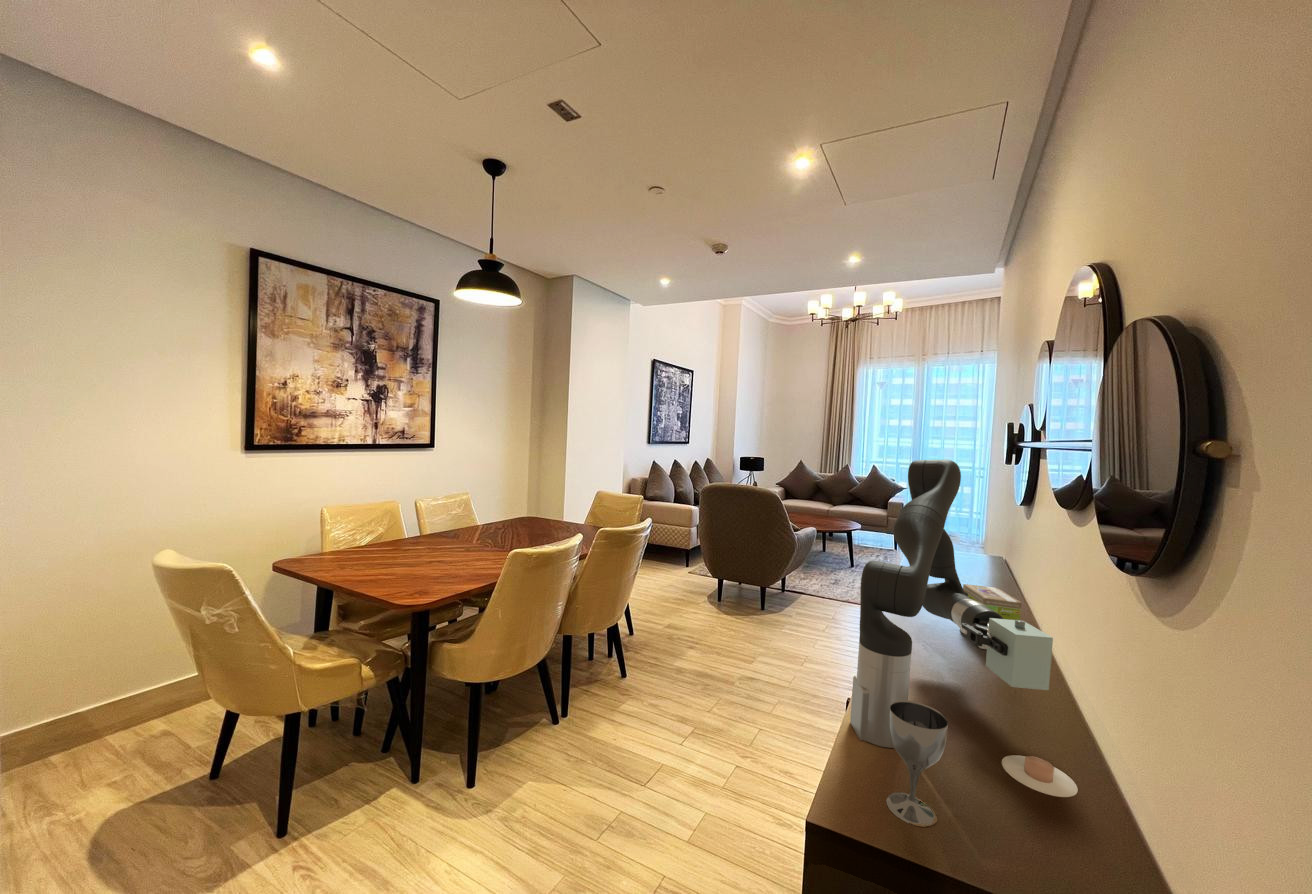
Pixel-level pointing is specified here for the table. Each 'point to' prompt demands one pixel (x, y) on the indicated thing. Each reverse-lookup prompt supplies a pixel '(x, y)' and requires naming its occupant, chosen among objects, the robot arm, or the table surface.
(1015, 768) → the plate
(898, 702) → the wine glass
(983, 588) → the tea box
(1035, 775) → the pink rounded disc
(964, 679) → the table surface
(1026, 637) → the cloche
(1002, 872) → the table surface
